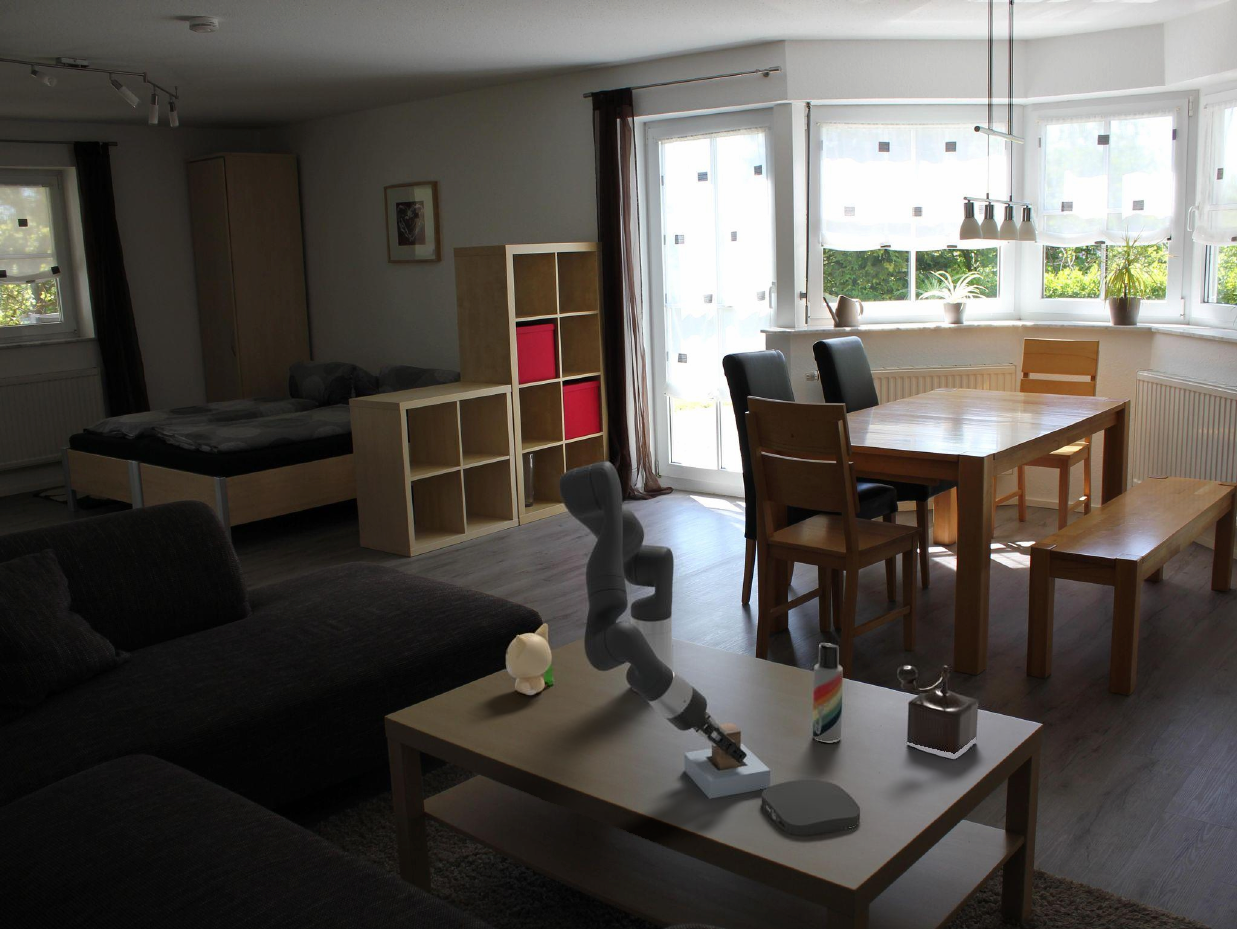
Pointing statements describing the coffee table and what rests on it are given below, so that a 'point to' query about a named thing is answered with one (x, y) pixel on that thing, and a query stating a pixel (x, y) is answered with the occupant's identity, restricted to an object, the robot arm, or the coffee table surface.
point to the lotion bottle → (827, 694)
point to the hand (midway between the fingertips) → (734, 750)
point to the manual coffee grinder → (938, 714)
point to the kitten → (530, 661)
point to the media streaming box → (810, 807)
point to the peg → (718, 756)
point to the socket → (726, 774)
